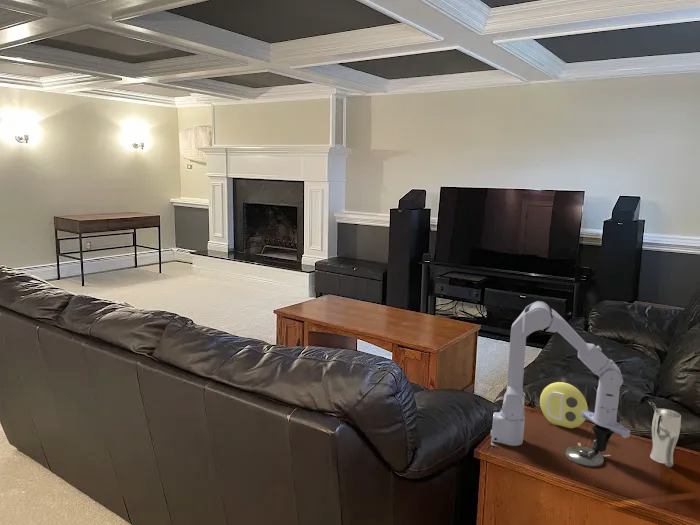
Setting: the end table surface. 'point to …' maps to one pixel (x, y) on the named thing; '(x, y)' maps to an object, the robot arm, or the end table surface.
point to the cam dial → (585, 455)
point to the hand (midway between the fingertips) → (601, 450)
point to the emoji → (563, 404)
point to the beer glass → (665, 435)
